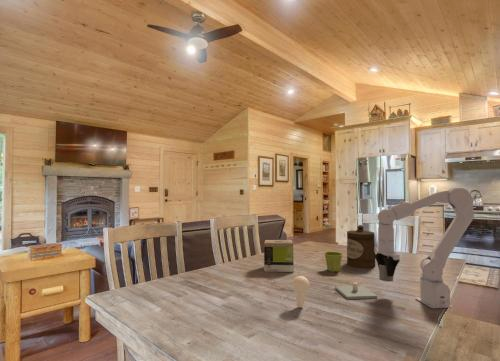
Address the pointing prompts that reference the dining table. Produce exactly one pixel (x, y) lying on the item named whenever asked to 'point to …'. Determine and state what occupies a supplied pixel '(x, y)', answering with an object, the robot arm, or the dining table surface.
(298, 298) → the lightbulb
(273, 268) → the tea box
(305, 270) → the dining table surface
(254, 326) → the dining table surface
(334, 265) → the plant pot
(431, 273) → the robot arm
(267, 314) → the dining table surface
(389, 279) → the tube
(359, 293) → the shaft plate
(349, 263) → the wooden container
